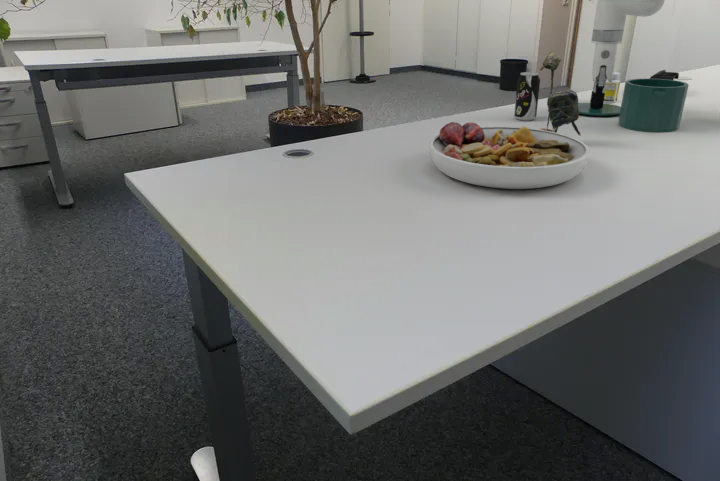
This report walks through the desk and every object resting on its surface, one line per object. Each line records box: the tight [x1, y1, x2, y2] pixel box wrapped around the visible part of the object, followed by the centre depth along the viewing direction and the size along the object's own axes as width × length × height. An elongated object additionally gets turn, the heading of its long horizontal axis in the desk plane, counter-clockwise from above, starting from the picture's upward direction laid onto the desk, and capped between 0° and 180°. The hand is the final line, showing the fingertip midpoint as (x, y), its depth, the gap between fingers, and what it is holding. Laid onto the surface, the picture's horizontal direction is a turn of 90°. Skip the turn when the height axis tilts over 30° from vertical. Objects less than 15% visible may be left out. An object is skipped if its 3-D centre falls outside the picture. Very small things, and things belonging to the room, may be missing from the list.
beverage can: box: [513, 71, 541, 122], centre depth 145 cm, size 6×6×12 cm
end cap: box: [649, 69, 680, 80], centre depth 174 cm, size 10×7×7 cm
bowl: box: [428, 121, 591, 190], centre depth 107 cm, size 30×30×8 cm
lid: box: [578, 102, 621, 117], centre depth 153 cm, size 15×15×7 cm
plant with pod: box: [539, 51, 582, 137], centre depth 122 cm, size 8×11×20 cm
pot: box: [618, 77, 690, 133], centre depth 136 cm, size 14×19×10 cm
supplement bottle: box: [603, 71, 621, 104], centre depth 165 cm, size 5×5×8 cm
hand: (596, 106), depth 153 cm, fingers closed on lid, 2 cm apart
